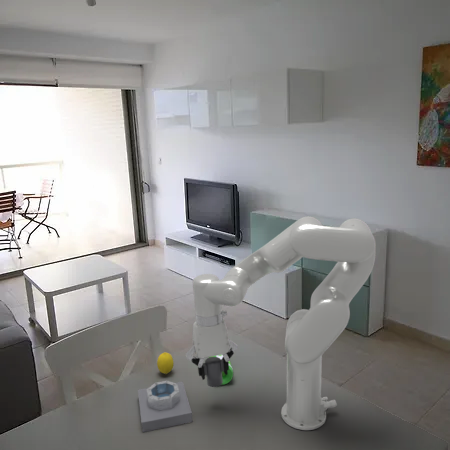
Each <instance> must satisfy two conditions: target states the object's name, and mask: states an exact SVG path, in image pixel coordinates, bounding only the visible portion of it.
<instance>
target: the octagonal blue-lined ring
mask: <svg viewBox="0 0 450 450" xmlns="http://www.w3.org/2000/svg"><path fill="white" fill-rule="evenodd" d="M176 383H177V382H173V381H169V380H163V381H158V382H154V383H153V384H151V386H149V387H147V388H148V389H147V398H148V405H149V408H152V409H154V410H157V411H163V410H168V409H172V408H173V407H174V406H175V405H177V404H178V403H179V402H180V397H179V389H178V385H177V384H176ZM166 393H167V394H170V395H169V396H165V397H160V398H159V397H157V395H161V394H166Z"/></svg>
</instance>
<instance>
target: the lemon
mask: <svg viewBox="0 0 450 450" xmlns="http://www.w3.org/2000/svg"><path fill="white" fill-rule="evenodd" d="M174 364H175V361H174V357H173V355H172V354H171V353H169V352H165V351H164V352H162V353H160V354H159V356H158V357H157V360H156V366H157V368H158V371H159V372H160V373H162V374H165V375H167V374H169V373H170V372H171V371H172V370H173V369H174Z"/></svg>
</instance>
